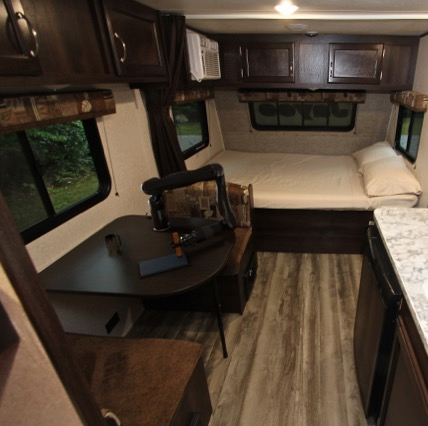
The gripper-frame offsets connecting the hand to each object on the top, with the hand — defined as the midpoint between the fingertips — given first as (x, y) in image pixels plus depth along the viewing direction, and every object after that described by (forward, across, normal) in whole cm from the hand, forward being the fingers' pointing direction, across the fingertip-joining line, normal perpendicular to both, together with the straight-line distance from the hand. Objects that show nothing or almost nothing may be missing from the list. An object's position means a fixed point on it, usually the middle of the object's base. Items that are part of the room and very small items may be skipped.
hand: (171, 245), depth 148 cm
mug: (+19, -30, +10) cm, 37 cm away
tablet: (+5, -2, +10) cm, 12 cm away
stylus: (-3, 0, +8) cm, 9 cm away
